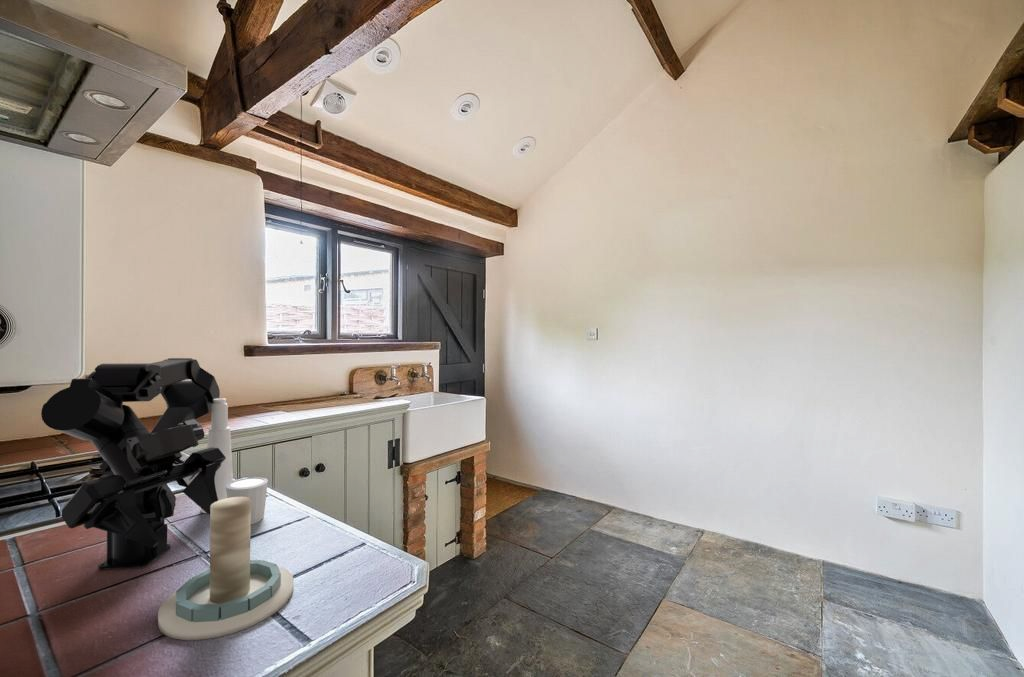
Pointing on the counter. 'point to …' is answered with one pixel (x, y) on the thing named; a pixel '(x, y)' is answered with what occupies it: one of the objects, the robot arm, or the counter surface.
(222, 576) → the birch cylinder
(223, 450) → the cosmetic bottle
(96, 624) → the counter surface
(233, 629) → the ring dish
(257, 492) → the white cup
